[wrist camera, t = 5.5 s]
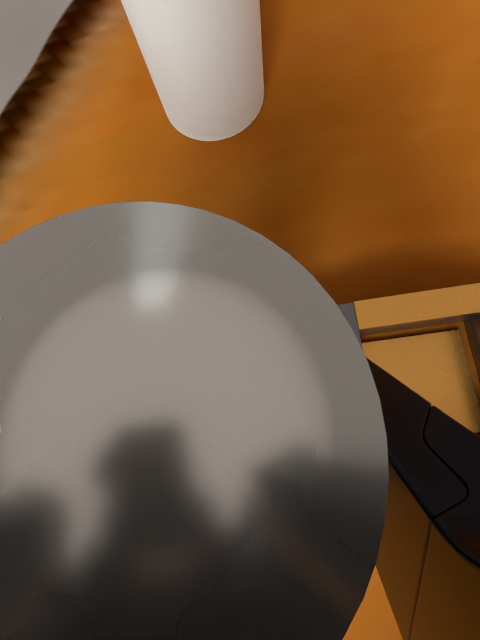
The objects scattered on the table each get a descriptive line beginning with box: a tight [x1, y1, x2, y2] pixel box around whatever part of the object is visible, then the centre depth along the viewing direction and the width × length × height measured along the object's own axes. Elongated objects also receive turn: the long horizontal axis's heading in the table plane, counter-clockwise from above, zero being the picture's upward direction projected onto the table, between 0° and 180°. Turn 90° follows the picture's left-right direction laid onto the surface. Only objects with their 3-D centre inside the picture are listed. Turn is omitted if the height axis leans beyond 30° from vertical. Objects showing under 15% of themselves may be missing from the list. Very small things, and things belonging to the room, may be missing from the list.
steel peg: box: [0, 201, 389, 640], centre depth 9 cm, size 5×5×12 cm
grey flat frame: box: [337, 283, 480, 433], centre depth 20 cm, size 20×10×3 cm, turn 97°
